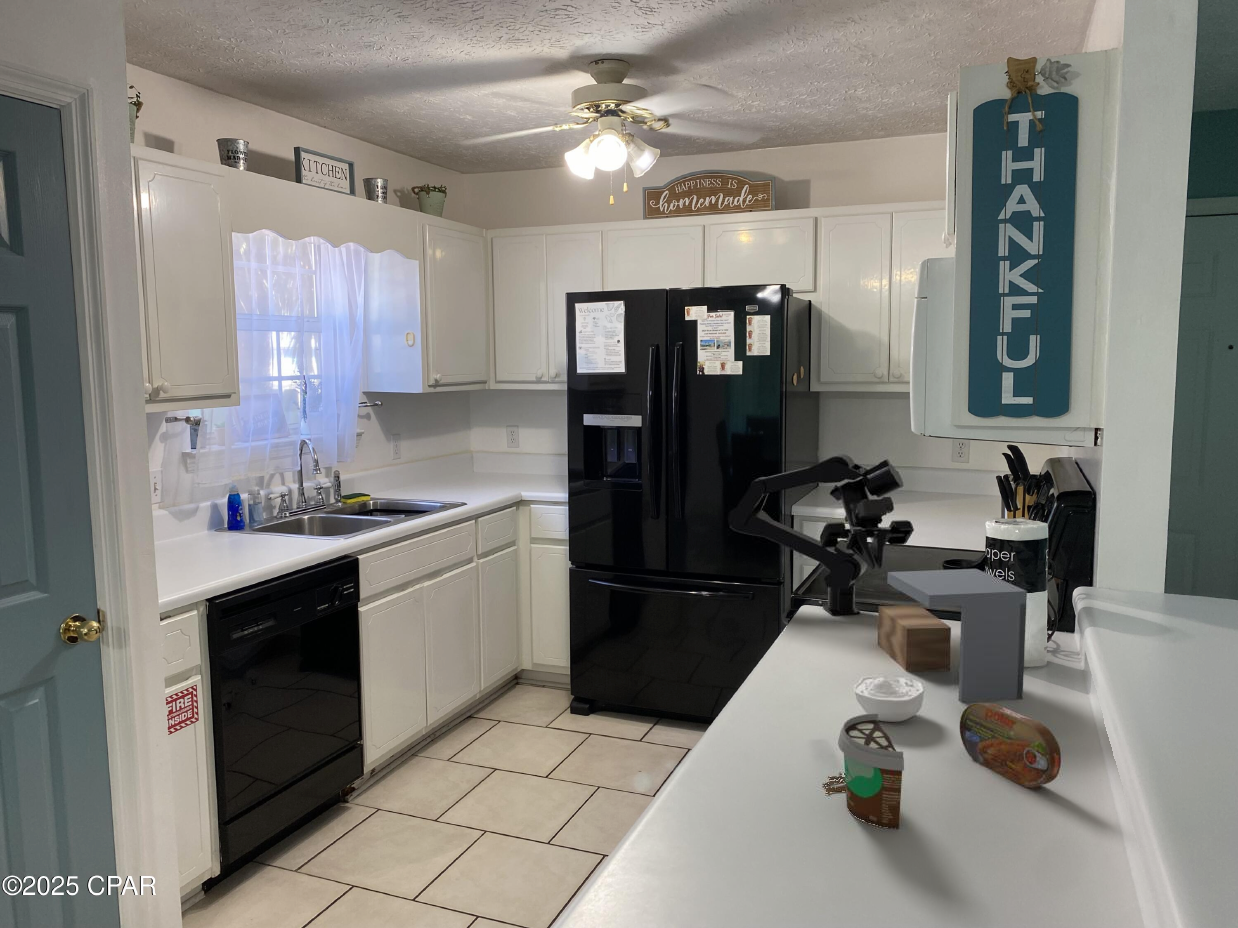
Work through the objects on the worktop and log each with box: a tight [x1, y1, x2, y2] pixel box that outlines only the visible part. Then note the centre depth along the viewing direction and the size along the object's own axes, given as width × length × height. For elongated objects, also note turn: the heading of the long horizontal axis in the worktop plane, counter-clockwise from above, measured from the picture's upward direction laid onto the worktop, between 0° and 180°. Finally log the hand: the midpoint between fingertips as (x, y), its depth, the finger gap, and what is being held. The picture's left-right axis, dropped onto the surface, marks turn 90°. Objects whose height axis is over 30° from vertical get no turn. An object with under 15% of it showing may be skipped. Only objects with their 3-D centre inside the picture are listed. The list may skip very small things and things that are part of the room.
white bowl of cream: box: [853, 674, 925, 723], centre depth 137 cm, size 10×12×7 cm
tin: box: [959, 702, 1062, 788], centre depth 118 cm, size 15×3×8 cm, turn 23°
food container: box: [837, 713, 905, 830], centre depth 109 cm, size 12×6×10 cm, turn 178°
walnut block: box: [877, 604, 952, 672], centre depth 165 cm, size 15×8×8 cm, turn 3°
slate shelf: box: [886, 568, 1028, 703], centre depth 150 cm, size 16×16×18 cm
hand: (877, 567), depth 181 cm, fingers closed
